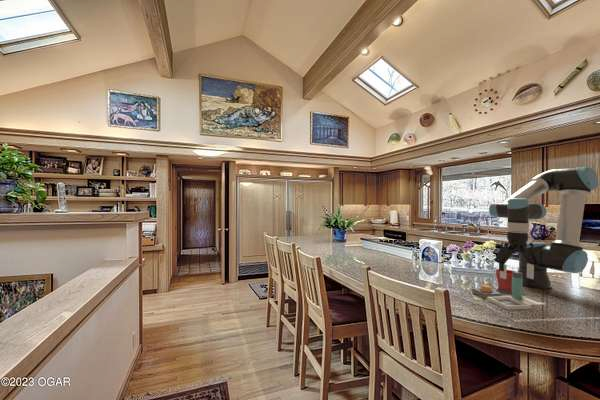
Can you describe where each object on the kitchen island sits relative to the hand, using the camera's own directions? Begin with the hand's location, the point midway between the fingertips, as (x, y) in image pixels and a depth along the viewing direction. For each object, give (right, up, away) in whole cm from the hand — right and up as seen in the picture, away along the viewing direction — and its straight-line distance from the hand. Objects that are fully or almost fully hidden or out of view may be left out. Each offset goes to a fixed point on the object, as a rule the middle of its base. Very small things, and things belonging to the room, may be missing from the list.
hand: (516, 278), depth 124 cm
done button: (-11, -9, +4) cm, 15 cm away
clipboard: (+2, -10, -1) cm, 10 cm away
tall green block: (0, -9, 0) cm, 9 cm away
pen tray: (-9, -10, -7) cm, 15 cm away
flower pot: (+7, -11, +14) cm, 19 cm away
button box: (-11, -10, +4) cm, 16 cm away
